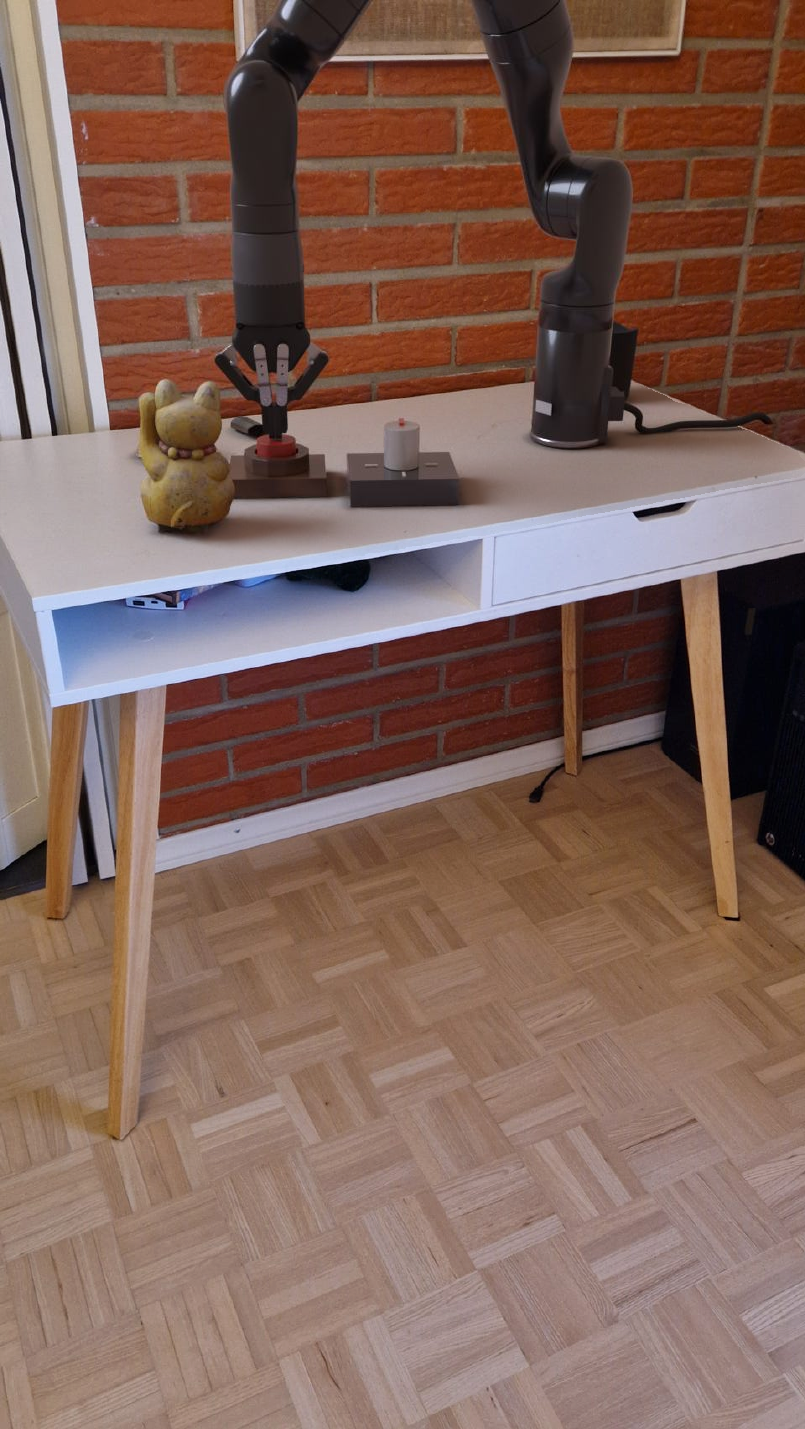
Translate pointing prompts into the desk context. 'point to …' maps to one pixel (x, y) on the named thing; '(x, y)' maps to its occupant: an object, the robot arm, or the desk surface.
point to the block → (246, 425)
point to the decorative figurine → (183, 459)
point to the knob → (401, 445)
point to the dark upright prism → (622, 356)
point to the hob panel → (402, 481)
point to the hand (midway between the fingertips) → (275, 436)
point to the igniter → (278, 475)
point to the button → (276, 446)
